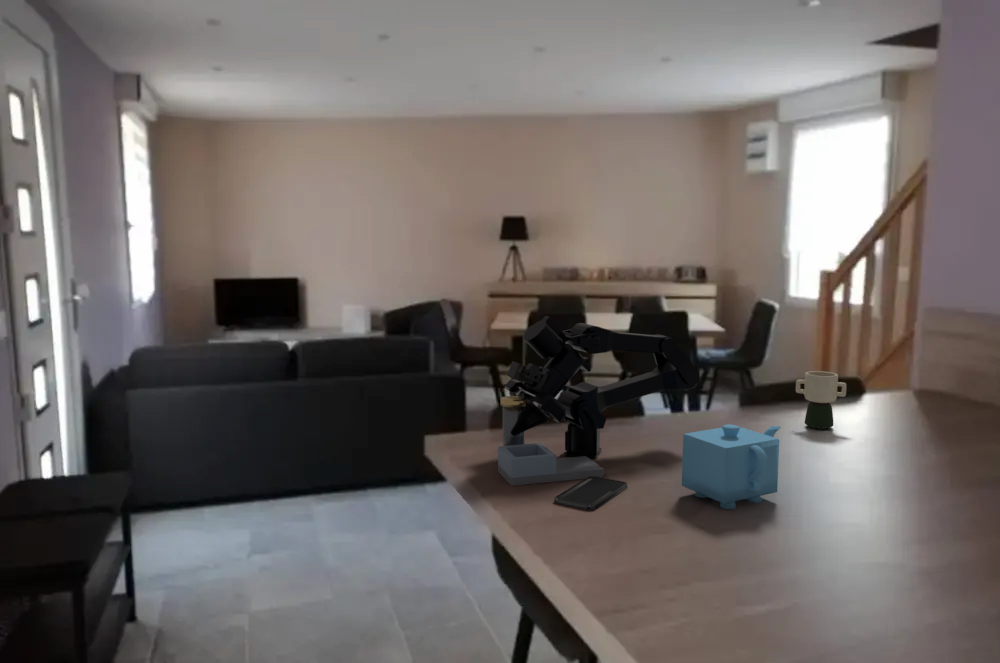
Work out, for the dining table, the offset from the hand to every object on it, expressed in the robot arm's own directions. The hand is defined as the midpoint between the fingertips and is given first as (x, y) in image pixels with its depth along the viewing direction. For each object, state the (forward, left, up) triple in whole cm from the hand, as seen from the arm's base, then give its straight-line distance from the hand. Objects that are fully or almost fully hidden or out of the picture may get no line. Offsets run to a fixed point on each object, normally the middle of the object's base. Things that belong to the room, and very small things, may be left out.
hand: (507, 431), depth 154 cm
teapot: (-45, +5, -7) cm, 46 cm away
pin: (-1, -1, -7) cm, 7 cm away
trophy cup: (-61, -49, -7) cm, 79 cm away
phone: (-20, +13, -7) cm, 25 cm away
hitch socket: (-10, +4, -7) cm, 13 cm away
